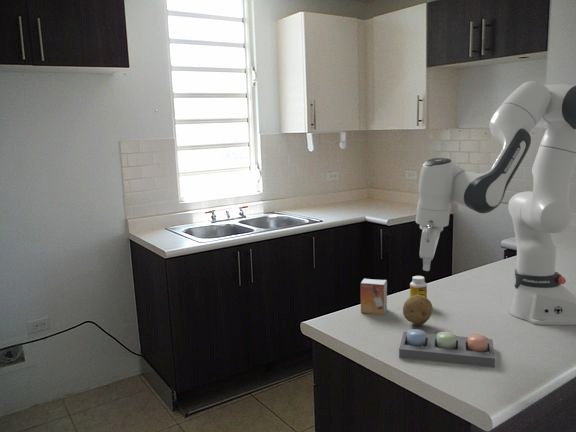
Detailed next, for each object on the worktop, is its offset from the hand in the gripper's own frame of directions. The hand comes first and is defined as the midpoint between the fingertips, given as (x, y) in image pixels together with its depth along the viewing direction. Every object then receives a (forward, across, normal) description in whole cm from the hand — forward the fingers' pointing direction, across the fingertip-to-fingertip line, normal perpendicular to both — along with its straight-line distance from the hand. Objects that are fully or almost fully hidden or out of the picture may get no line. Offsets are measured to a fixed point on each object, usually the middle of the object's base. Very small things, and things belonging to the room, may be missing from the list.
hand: (427, 264), depth 143 cm
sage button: (+20, -8, -7) cm, 22 cm away
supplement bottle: (+24, +26, +3) cm, 36 cm away
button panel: (+22, -8, -8) cm, 24 cm away
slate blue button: (+20, -8, +1) cm, 22 cm away
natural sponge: (+24, +9, +2) cm, 25 cm away
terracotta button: (+19, -8, -15) cm, 26 cm away
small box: (+25, +18, +17) cm, 35 cm away
